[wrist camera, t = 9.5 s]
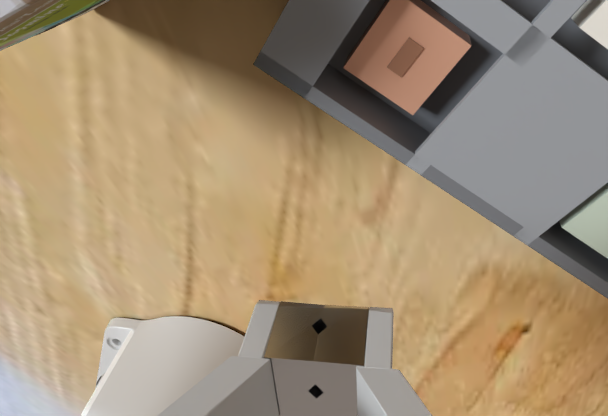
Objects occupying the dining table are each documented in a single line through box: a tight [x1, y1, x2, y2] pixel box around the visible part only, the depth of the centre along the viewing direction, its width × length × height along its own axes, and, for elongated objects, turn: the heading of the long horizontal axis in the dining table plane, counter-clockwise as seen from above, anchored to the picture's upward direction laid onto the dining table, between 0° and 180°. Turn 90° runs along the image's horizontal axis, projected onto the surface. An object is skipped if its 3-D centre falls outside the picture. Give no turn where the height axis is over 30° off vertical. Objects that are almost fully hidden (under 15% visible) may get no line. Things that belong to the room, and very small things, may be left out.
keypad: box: [253, 0, 608, 298], centre depth 22 cm, size 14×24×5 cm, turn 59°
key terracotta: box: [343, 0, 472, 115], centre depth 23 cm, size 4×4×2 cm
